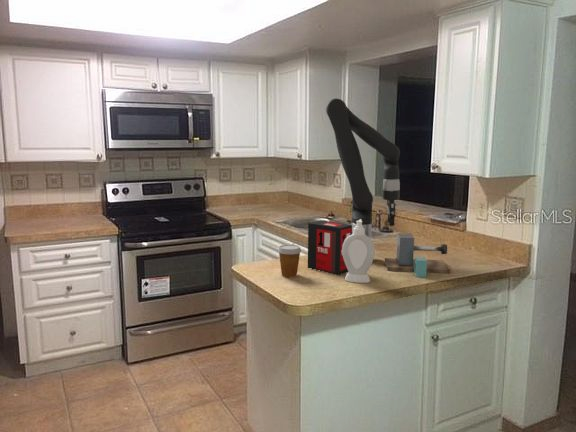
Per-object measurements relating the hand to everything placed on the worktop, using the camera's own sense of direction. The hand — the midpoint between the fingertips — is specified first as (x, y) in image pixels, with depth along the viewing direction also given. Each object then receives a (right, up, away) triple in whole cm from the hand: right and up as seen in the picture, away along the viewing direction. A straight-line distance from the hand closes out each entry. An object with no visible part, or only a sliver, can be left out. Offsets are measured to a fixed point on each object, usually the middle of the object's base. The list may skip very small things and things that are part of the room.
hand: (390, 224), depth 221 cm
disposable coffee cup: (-47, -21, -22) cm, 56 cm away
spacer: (+8, -21, -21) cm, 31 cm away
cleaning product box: (-30, -20, -13) cm, 38 cm away
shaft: (+14, -13, -10) cm, 21 cm away
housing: (+4, -17, -8) cm, 19 cm away
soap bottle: (-19, -22, -29) cm, 41 cm away
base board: (+9, -19, -8) cm, 22 cm away
